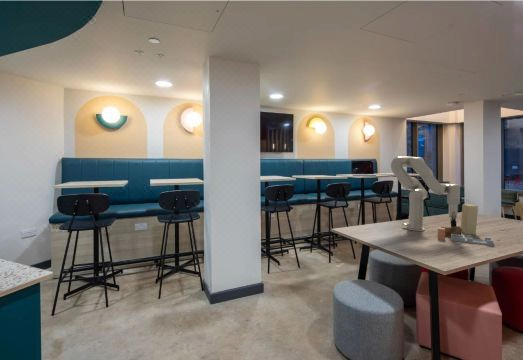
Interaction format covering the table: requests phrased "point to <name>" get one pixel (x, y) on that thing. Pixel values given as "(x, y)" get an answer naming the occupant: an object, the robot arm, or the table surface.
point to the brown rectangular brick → (441, 233)
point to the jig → (470, 240)
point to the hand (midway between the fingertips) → (453, 225)
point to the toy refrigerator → (469, 218)
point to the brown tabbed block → (452, 230)
